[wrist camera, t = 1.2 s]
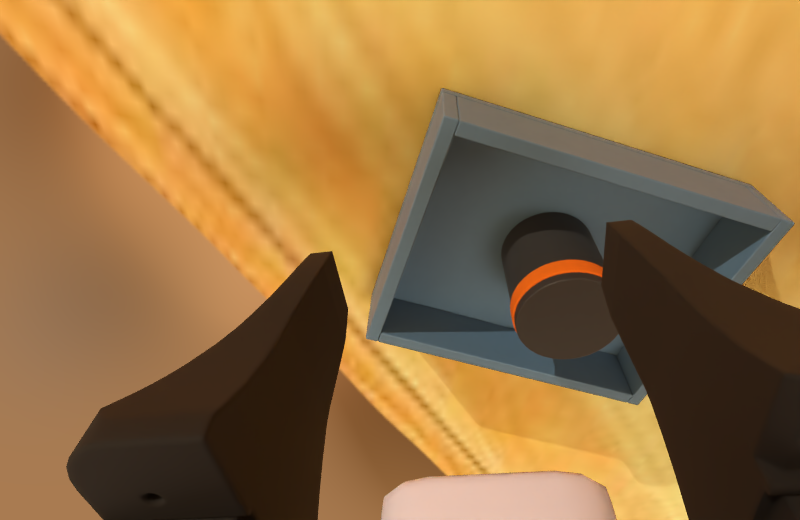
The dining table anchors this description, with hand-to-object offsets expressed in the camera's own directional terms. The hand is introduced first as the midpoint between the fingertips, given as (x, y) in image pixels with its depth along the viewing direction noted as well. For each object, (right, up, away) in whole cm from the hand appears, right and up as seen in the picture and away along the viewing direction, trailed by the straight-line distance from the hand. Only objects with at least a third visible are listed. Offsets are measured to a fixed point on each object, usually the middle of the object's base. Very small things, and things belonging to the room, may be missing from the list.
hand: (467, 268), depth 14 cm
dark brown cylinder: (+5, +1, +10) cm, 12 cm away
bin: (+5, +1, +11) cm, 12 cm away
